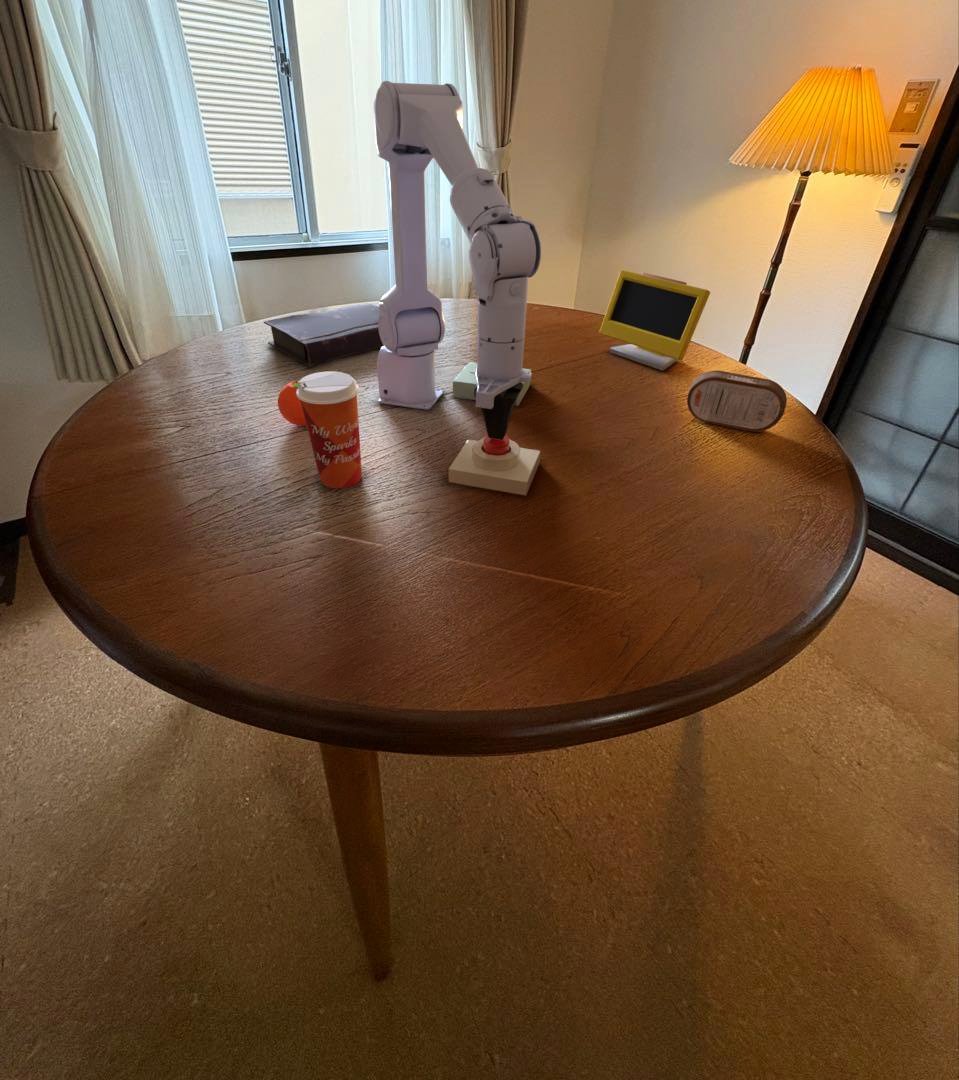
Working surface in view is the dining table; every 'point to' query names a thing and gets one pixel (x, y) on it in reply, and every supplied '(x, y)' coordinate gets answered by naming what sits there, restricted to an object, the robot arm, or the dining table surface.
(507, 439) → the red button
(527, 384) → the dial panel
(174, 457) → the dining table surface
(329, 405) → the paper cup
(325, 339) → the diary
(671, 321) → the toy computer monitor
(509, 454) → the button block
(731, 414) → the tin
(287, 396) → the clementine
